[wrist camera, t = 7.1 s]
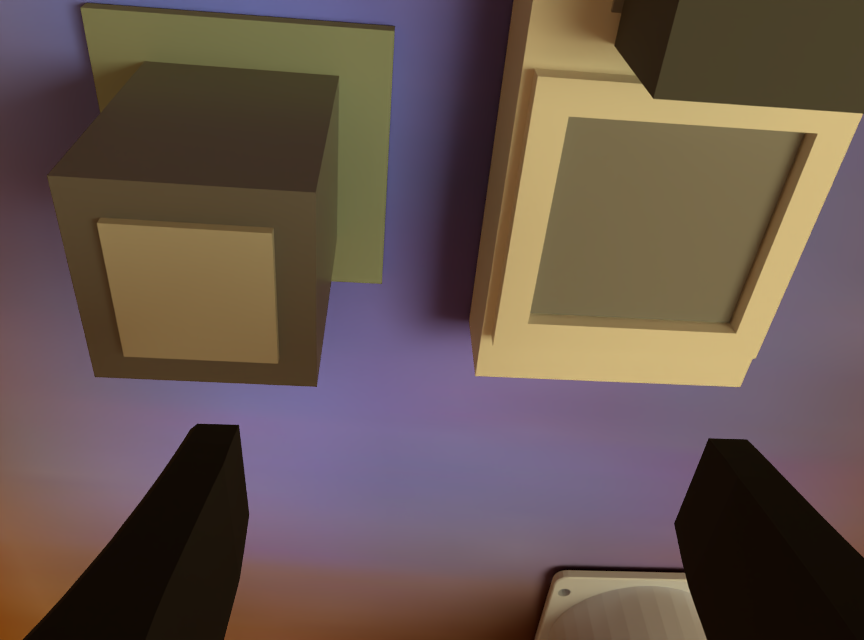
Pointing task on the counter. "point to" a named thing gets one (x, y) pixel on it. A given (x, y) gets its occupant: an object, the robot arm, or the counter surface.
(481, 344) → the power strip
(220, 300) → the block
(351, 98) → the mat
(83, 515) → the counter surface
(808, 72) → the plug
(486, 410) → the counter surface
